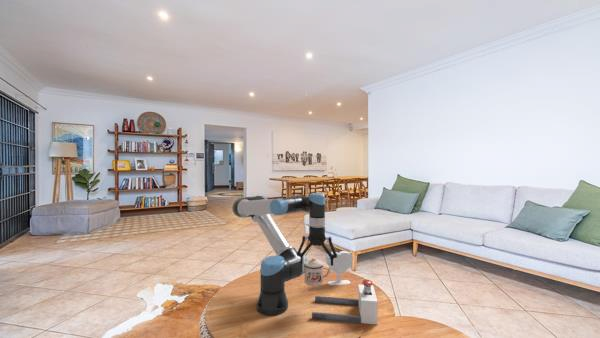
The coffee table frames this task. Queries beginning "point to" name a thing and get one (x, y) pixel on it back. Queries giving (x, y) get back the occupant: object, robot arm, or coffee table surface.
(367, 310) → the end cabinet
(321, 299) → the pair of grey rails
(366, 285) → the red knob
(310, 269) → the teacup with lid
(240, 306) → the coffee table surface
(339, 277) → the heart sculpture
